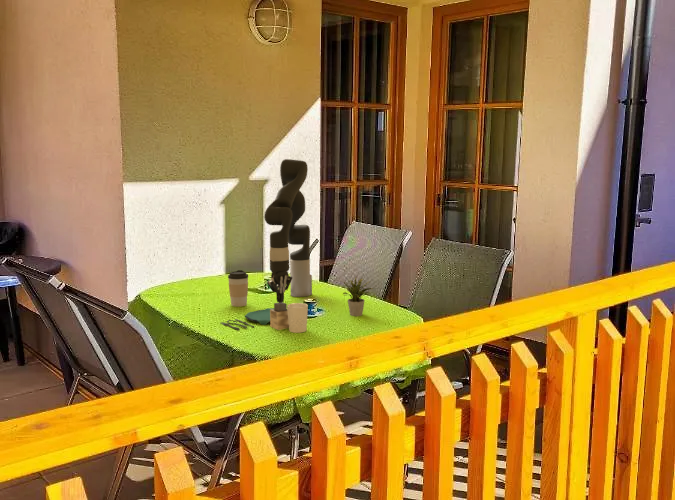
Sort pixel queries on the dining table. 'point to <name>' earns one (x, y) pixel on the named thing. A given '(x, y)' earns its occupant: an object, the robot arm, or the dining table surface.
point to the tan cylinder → (297, 317)
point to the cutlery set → (253, 318)
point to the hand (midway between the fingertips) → (280, 302)
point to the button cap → (280, 306)
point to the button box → (279, 319)
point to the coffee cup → (238, 288)
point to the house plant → (356, 298)
